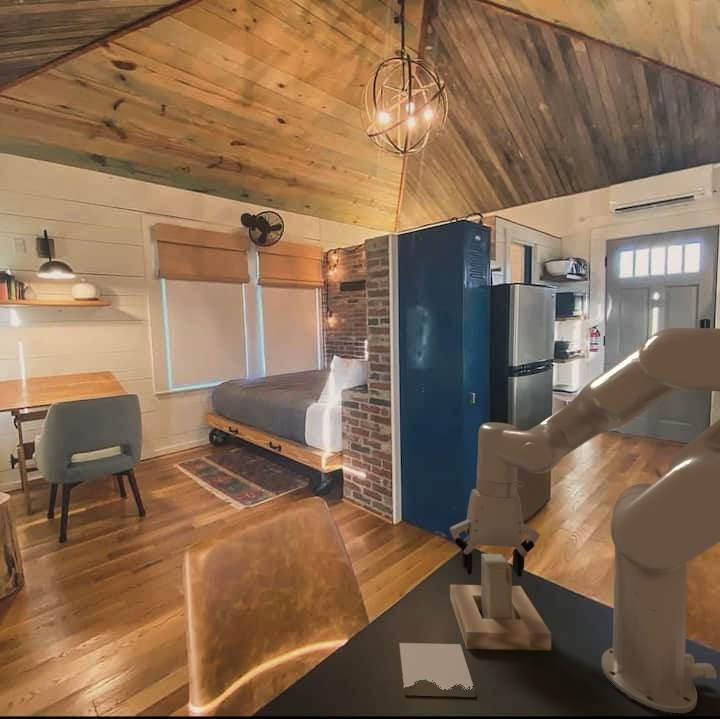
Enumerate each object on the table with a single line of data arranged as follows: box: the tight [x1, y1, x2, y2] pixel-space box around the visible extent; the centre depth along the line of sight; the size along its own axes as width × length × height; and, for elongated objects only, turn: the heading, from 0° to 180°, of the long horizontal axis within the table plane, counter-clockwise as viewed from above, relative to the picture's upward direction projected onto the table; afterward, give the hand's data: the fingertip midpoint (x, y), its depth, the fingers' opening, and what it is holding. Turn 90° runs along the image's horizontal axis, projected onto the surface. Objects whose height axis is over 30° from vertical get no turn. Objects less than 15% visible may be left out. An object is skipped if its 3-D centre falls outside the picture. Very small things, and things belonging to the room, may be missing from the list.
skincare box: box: [480, 553, 513, 619], centre depth 81 cm, size 6×4×12 cm
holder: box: [449, 584, 552, 651], centre depth 81 cm, size 15×15×3 cm
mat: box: [398, 642, 475, 690], centre depth 69 cm, size 11×11×1 cm
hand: (492, 571), depth 81 cm, fingers open, 9 cm apart
